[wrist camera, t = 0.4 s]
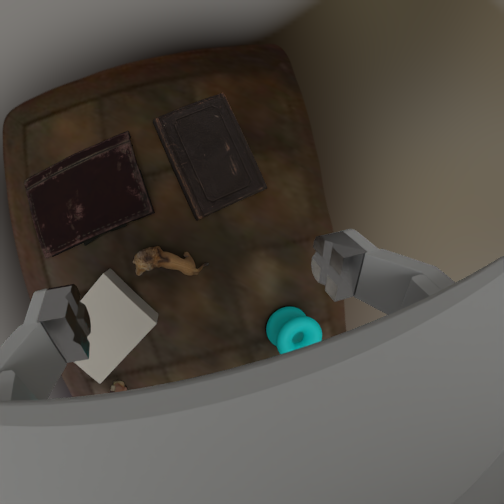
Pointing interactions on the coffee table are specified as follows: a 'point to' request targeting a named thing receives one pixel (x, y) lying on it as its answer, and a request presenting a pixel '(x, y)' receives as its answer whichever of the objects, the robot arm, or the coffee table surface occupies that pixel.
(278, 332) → the donuts
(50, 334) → the robot arm
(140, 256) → the lion figurine
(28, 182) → the diary
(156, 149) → the coffee table surface
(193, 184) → the hardcover book
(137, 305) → the pedestal
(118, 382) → the grandmother figurine
